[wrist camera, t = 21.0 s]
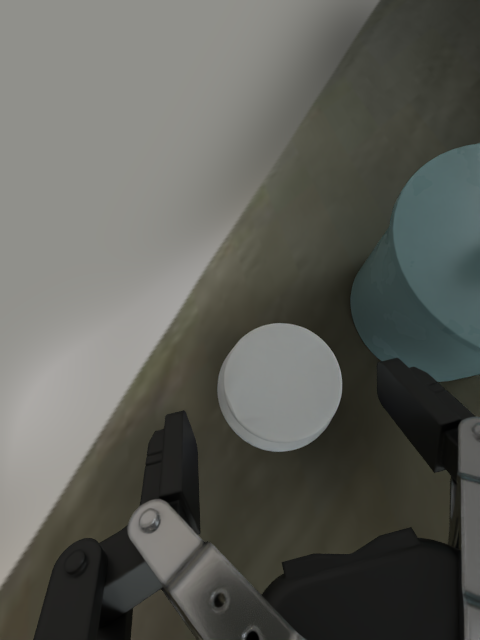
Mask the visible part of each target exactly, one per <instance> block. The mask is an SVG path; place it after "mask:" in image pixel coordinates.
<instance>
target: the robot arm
mask: <svg viewBox="0 0 480 640" xmlns="http://www.w3.org/2000/svg"><path fill="white" fill-rule="evenodd" d="M377 394H378V397H379V400H380V402H381V404H382V406H383V407H384V409H385V410H386V411H387V412H388V414H389V415H390V416H391V418H392V419H393V420H394V421H395V423H396V424H397V425H398V427H399V428H400V429H401V430H402V432H403V433H404V434H405V436H406V437H407V438H408V439H409V441H410V442H411V443H412V445H413V446H414V447H415V448H416V450H417V451H418V452H419V454H420V455H421V456H422V457H423V459H424V460H425V461H426V463H427V464H428V465H429V466H430V468H431V469H432V470H433V472H434V473H435V472H439V471H443V470H447V471H448V473H449V474H450V475H451V479H450V518H449V539H448V545H447V544H444V543H441V542H438V541H434V540H430V539H424V538H417V536H416V534H415V533H414V531H413V529H412V528H411V527H410V528H406V529H403V530H399V531H395V532H392V533H388V534H384V535H381V536H379V537H377V538H375V539H374V540H372V541H371V542H369V543H368V544H366V545H365V546H363V547H362V548H360V549H359V550H357V551H355V552H354V553H352V554H311V555H307V556H303V557H300V558H296V559H292V560H288V561H285V562H282V565H283V570H284V574H282V575H281V576H279V577H278V578H276V579H275V580H274V581H273V582H272V583H271V584H270V585H269V586H268V587H267V588H266V590H265V591H264V592H263V594H262V595H261V594H260V593H259V592H258V591H257V590H256V589H255V588H254V587H253V586H252V585H251V584H250V583H249V582H248V581H247V580H246V579H245V577H244V576H243V575H242V574H241V573H240V572H239V571H238V570H237V569H236V568H235V567H234V566H233V565H232V564H231V563H230V562H229V561H228V560H227V559H226V558H225V557H224V556H223V555H222V553H221V552H220V551H219V550H218V549H217V548H216V547H215V546H214V545H213V544H211V543H210V542H208V541H207V542H204V541H203V540H202V539H201V538H200V537H199V536H198V534H200V507H199V477H198V451H197V444H196V440H195V436H194V434H193V431H192V428H191V425H190V423H189V420H188V417H187V414H186V412H185V411H184V410H183V411H179V412H175V413H171V414H167V415H166V416H165V426H164V429H162V430H158V431H155V432H154V434H153V436H152V438H151V439H150V441H149V443H148V450H147V458H146V467H145V472H144V480H143V487H142V495H141V502H140V506H139V508H138V509H137V510H136V511H135V512H134V513H133V515H132V516H131V518H130V520H129V523H128V525H127V526H126V527H125V528H123V529H122V530H121V531H119V532H118V533H116V534H114V535H112V536H111V537H109V538H107V539H106V540H104V541H102V542H101V543H98V542H97V541H96V540H95V539H92V538H85V539H81V540H79V541H77V542H75V543H73V544H72V545H70V546H69V547H68V548H67V549H66V550H65V551H64V552H63V553H62V554H61V555H60V557H59V558H58V560H57V561H56V563H55V565H54V568H53V570H52V574H51V577H50V581H49V585H48V588H47V592H46V596H45V599H44V603H43V606H42V610H41V614H40V617H39V621H38V625H37V628H36V632H35V636H34V639H33V640H131V627H132V613H133V607H135V606H136V605H138V604H139V603H141V602H142V601H144V600H145V599H146V598H148V597H149V596H151V595H152V594H154V593H155V592H157V591H158V590H160V589H161V590H162V591H163V593H164V594H165V595H166V597H167V598H168V600H169V601H170V603H171V604H172V605H173V607H174V608H175V610H176V611H177V612H178V614H179V615H180V617H181V618H182V620H183V621H184V622H185V624H186V625H187V627H188V628H189V630H190V631H191V632H192V634H193V635H194V637H195V638H196V640H480V417H476V416H474V415H473V414H472V413H471V412H470V411H469V410H468V409H467V408H466V407H465V406H463V405H462V404H461V403H460V402H459V401H458V400H457V399H456V398H455V397H453V396H452V395H451V394H450V393H449V392H448V391H447V390H445V388H444V387H442V386H441V385H440V384H439V383H437V381H436V380H435V379H434V378H433V377H431V376H430V375H429V374H428V373H427V372H425V371H423V370H420V369H418V368H416V367H410V368H409V367H408V366H407V365H406V364H404V363H403V362H402V361H401V360H400V359H399V358H393V359H389V360H385V361H381V362H378V364H377Z"/></svg>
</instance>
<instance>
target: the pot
mask: <svg viewBox="0 0 480 640" xmlns="http://www.w3.org/2000/svg"><path fill="white" fill-rule="evenodd" d="M350 302H351V313H352V317H353V321H354V324H355V327H356V329H357V331H358V333H359V335H360V337H361V338H362V340H363V342H364V343H365V344H366V346H367V347H368V348H369V350H370V351H371V352H372V353H373V354H374V355H375V356H376V357H377V358H378V359H380V360H381V361H385V360H389V359H393V358H399V359H400V360H401V361H402V362H403V363H404V364H406V365H407V366H408V367H409V368H410V367H416V368H418V369H420V370H423V371H425V372H427V373H428V374H429V375H430V376H431V377H433V378H434V379H435V380H436V381H437V382H442V381H451V380H457V379H461V378H466V377H470V376H475V375H479V374H480V143H479V144H473V145H467V146H463V147H460V148H456V149H453V150H450V151H448V152H446V153H443V154H441V155H439V156H437V157H436V158H434V159H432V160H431V161H429V162H427V163H426V164H425V165H424V166H422V167H421V168H420V169H419V170H417V172H416V173H415V174H414V175H413V176H412V177H411V178H410V179H409V181H408V182H407V184H406V185H405V187H404V188H403V190H402V191H401V193H400V194H399V196H398V198H397V200H396V203H395V205H394V207H393V211H392V215H391V219H390V226H389V228H388V229H387V231H386V232H385V233H384V235H383V236H382V238H381V239H380V241H379V242H378V244H377V245H376V247H375V248H374V249H373V251H372V252H371V254H370V255H369V257H368V258H367V260H366V261H365V263H364V264H363V265H362V267H361V268H360V270H359V272H358V273H357V275H356V277H355V280H354V282H353V286H352V290H351V297H350Z"/></svg>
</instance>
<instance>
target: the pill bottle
mask: <svg viewBox="0 0 480 640" xmlns="http://www.w3.org/2000/svg"><path fill="white" fill-rule="evenodd" d="M217 393H218V400H219V405H220V408H221V411H222V413H223V415H224V417H225V419H226V421H227V423H228V424H229V426H230V427H231V428H232V430H233V431H234V432H235V433H236V434H237V435H238V436H239V437H240V438H242V439H243V440H244V441H246V442H247V443H249V444H251V445H253V446H255V447H257V448H260V449H262V450H267V451H273V452H283V451H291V450H295V449H298V448H301V447H303V446H305V445H307V444H309V443H311V442H312V441H314V440H315V439H316V438H318V437H319V436H320V435H321V433H322V432H323V431H324V430H325V429H326V428H327V426H328V425H329V423H330V421H331V419H332V417H333V416H334V414H335V412H336V411H337V408H338V406H339V403H340V399H341V395H342V376H341V371H340V367H339V364H338V361H337V359H336V357H335V355H334V353H333V352H332V350H331V349H330V348H329V346H328V345H327V344H326V343H325V342H324V341H323V340H322V339H321V338H320V337H319V336H317V335H316V334H314V333H313V332H311V331H309V330H308V329H305V328H303V327H300V326H297V325H293V324H286V323H274V324H268V325H264V326H261V327H258V328H256V329H254V330H252V331H250V332H249V333H247V334H246V335H245V336H243V337H242V338H241V339H240V340H239V341H238V342H237V344H236V345H235V346H234V348H233V349H232V350H231V351H230V353H229V354H228V355H227V357H226V359H225V360H224V362H223V364H222V367H221V370H220V373H219V377H218V385H217Z"/></svg>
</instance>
